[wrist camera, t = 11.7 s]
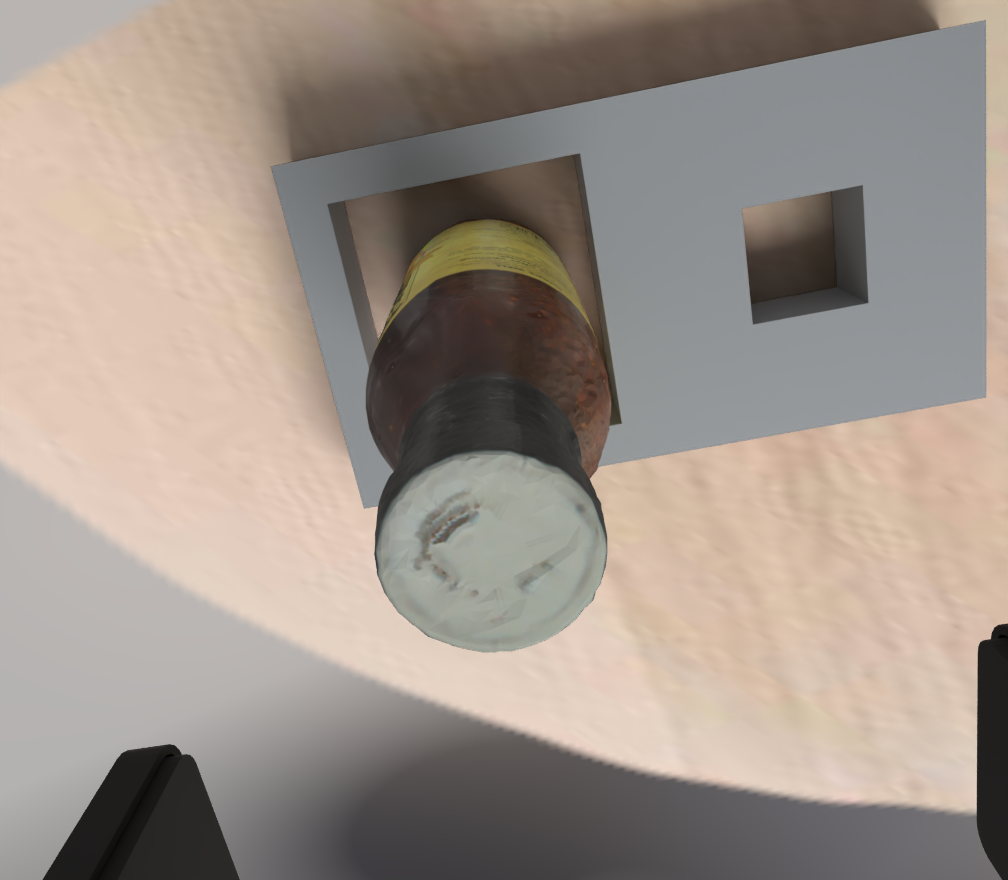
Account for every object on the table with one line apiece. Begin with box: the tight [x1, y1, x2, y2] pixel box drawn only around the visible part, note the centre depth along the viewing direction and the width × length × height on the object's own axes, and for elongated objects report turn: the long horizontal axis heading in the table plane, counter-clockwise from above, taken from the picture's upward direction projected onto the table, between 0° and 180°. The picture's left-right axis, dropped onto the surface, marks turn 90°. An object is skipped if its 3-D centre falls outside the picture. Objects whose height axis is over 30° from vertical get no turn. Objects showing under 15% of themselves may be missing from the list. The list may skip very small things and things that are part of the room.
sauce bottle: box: [366, 219, 612, 652], centre depth 24 cm, size 6×6×20 cm
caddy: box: [271, 20, 986, 509], centre depth 31 cm, size 23×12×3 cm, turn 101°
